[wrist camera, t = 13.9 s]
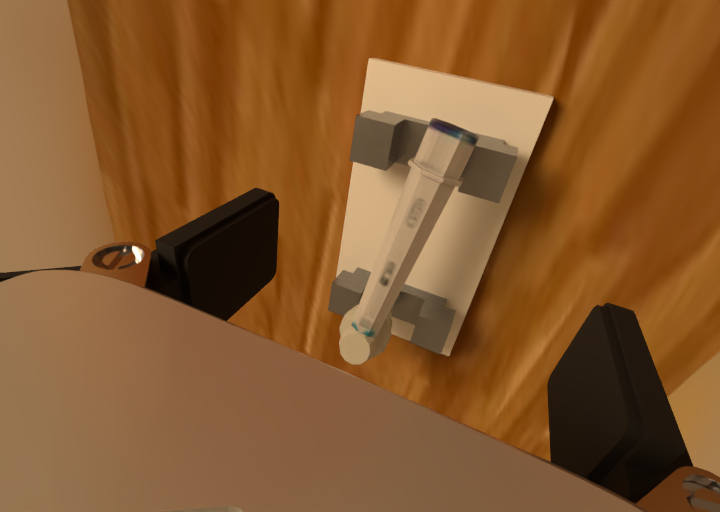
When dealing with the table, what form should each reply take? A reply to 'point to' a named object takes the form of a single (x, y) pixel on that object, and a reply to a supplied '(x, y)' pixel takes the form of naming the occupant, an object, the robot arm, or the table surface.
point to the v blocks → (481, 179)
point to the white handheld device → (406, 236)
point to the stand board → (462, 212)
